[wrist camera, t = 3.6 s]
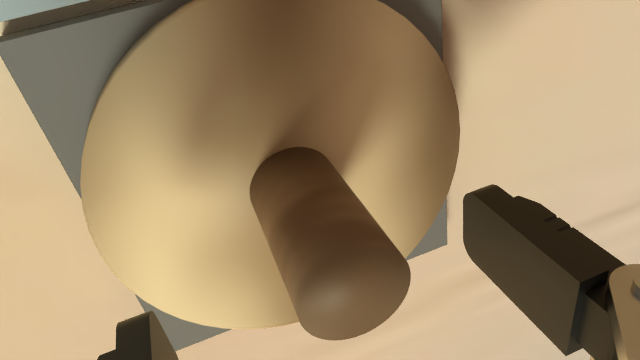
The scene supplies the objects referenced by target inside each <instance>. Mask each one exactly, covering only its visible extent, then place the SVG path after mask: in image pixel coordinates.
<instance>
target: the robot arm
mask: <svg viewBox="0 0 640 360" xmlns="http://www.w3.org/2000/svg"><path fill="white" fill-rule="evenodd" d="M463 241H464V246H465V248H466V251H467V253H468V255H469V257H470V258H471V259H472V261H473V262H474V263H475V264H476V265H477V266H478V267H479V268H480V269H481V270H482V271H483V272H484V273H485V274H486V275H487V276H488V277H489V278H490V279H491V280H492V281H493V282H494V283H495V284H496V285H497V286H498V287H499V288H500V289H501V290H502V291H503V292H504V294H505V295H506V296H507V297H508V298H509V299H510V300H511V301H512V302H513V303H514V304H515V305H516V306H517V307H518V308H519V309H520V310H521V311H522V312H523V313H524V314H525V315H526V316H527V317H528V318H529V319H530V320H531V321H532V322H533V323H534V324H535V325H536V326H537V327H538V328H539V329H540V330H541V331H542V332H543V333H544V334H545V335H546V336H547V337H548V338H549V339H550V340H551V341H552V342H553V343H554V344H555V345H556V346H557V347H558V349H559V350H560V351H561V352H562V353H563V354H564V355H565V356H567V355H569V354H571V353H573V352H575V351H578V350H580V349H582V348H584V349H585V350H586V351H587V352H588V353H589V354H590V355H591V357H590V360H640V264H629V265H626V264H624V263H622V262H621V261H620V260H618V259H617V258H615V257H614V256H613V255H611V254H610V253H608V252H607V251H606V250H604V249H603V248H601V247H600V246H599V245H597V244H596V243H594V242H593V241H592V240H590V239H589V238H587V237H586V236H585V235H583V234H582V233H580V232H579V231H578V230H576V229H575V228H571V227H570V225H569V224H568V223H566V222H565V221H564V220H562V219H561V218H557V217H556V215H555V214H554V213H552V212H551V211H550V210H548V209H547V208H545V207H544V206H543V205H541V204H540V203H537V202H534V201H532V200H529V199H526V198H523V197H521V196H516V197H514V198H513V197H512V196H511V195H509V194H508V193H507V192H505V191H504V190H503V189H501V188H500V187H499V186H497V185H493V184H492V185H489V186H486V187H483V188H481V189H478V190H475V191H473V192H470V193H467V194H466V195H465V196H464V199H463ZM97 360H178V357H177V355H176V352H175V350H174V348H173V347H172V345H171V343H170V341H169V339H168V337H167V335H166V333H165V332H164V330H163V328H162V326H161V324H160V322H159V320H158V318H157V317H156V315H155V313H154V312H153V311H149V312H146V313H143V314H141V315H138V316H135V317H133V318H130V319H127V320H125V321H122V322H119V323H118V324H117V327H116V349H115V350H113V351H110V352H107V353H105V354H102V355H100V356H99V357H98V359H97Z"/></svg>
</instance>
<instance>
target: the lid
mask: <svg viewBox="0 0 640 360" xmlns="http://www.w3.org/2000/svg"><path fill="white" fill-rule="evenodd" d="M459 138H460V124H459V110H458V105H457V101H456V96H455V91H454V88H453V85H452V83H451V80H450V77H449V75H448V72H447V69H446V68H445V66H444V64H443V62H442V60H441V59H440V57H439V55H438V53H437V52H436V50H435V49H434V48H433V46H432V45H431V44H430V42H429V41H428V40H427V39H426V37H425V36H424V35H423V34H422V33H421V32H420V31H419V30H418V29H417V28H416V27H415V26H414V25H413V24H412V23H411V22H410V21H408V20H407V19H406V18H405V17H404V16H402V15H401V14H399V13H398V12H396V11H395V10H393V9H392V8H390V7H389V6H387V5H386V4H384V3H382V2H379V1H377V0H192V1H190V2H188V3H186V4H184V5H182V6H181V7H179V8H178V9H176V10H175V11H173V12H172V13H170V14H169V15H167V16H166V17H164V18H163V19H161V20H160V21H158V22H157V23H156V24H155V25H154V26H152V27H151V28H150V29H149V30H148V31H147V32H146V33H145V34H144V35H143V36H142V37H140V38H139V39H138V40H137V41H136V42H135V43H134V44H133V45H132V46H131V48H130V49H129V50H128V51H127V53H126V54H125V55H124V56H123V57H122V59H121V60H120V61H119V62H118V64H117V65H116V66H115V68H114V69H113V71H112V73H111V74H110V76H109V78H108V80H107V81H106V83H105V85H104V86H103V88H102V90H101V92H100V94H99V97H98V99H97V102H96V104H95V107H94V109H93V112H92V114H91V117H90V121H89V125H88V130H87V134H86V139H85V143H84V149H83V154H82V163H81V180H80V187H81V196H82V205H83V211H84V215H85V218H86V222H87V225H88V229H89V232H90V234H91V237H92V239H93V241H94V243H95V245H96V247H97V249H98V251H99V253H100V255H101V256H102V258H103V259H104V261H105V262H106V264H107V265H108V266H109V268H110V269H111V271H112V272H113V273H114V274H115V275H116V276H117V277H118V278H119V279H120V280H121V282H122V283H123V284H124V285H125V286H126V287H127V288H128V289H130V290H131V291H132V292H134V293H135V294H136V295H137V296H139V297H140V298H141V299H143V300H144V301H145V302H147V303H149V304H151V305H152V306H154V307H156V308H158V309H159V310H161V311H163V312H165V313H168V314H170V315H172V316H175V317H177V318H180V319H182V320H186V321H189V322H193V323H197V324H200V325H205V326H211V327H217V328H225V329H260V328H270V327H276V326H283V325H288V324H292V323H296V322H300V323H301V325H302V327H303V328H304V329H305V330H306V331H307V332H308V333H310V334H311V335H313V336H315V337H317V338H321V339H325V340H344V339H350V338H353V337H357V336H359V335H362V334H364V333H367V332H369V331H371V330H372V329H374V328H376V327H377V326H379V325H380V324H382V323H383V322H384V321H386V320H387V319H388V318H389V317H390V316H391V315H392V314H393V313H394V312H395V311H396V310H397V309H398V307H399V306H400V305H401V303H402V302H403V300H404V298H405V296H406V294H407V292H408V289H409V285H410V268H409V265H408V263H407V261H406V258H407V256H408V255H409V254H410V253H411V252H412V251H413V249H414V248H415V247H416V246H417V245H418V244H419V242H420V241H421V240H422V238H423V237H424V235H425V234H426V232H427V231H428V230H429V228H430V227H431V225H432V224H433V222H434V220H435V218H436V216H437V215H438V213H439V211H440V209H441V207H442V205H443V203H444V200H445V198H446V196H447V193H448V191H449V189H450V185H451V182H452V179H453V176H454V172H455V168H456V163H457V157H458V152H459Z"/></svg>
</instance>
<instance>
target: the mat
mask: <svg viewBox="0 0 640 360" xmlns="http://www.w3.org/2000/svg"><path fill="white" fill-rule="evenodd" d="M190 1H192V0H145V1H141V2H137V3H133V4H129V5H125V6H121V7H117V8H113V9H109V10H105V11H101V12H97V13H93V14H89V15H85V16H81V17H77V18H72V19H68V20H64V21H60V22H56V23H52V24H48V25H44V26H40V27H36V28H32V29H28V30H24V31H20V32H16V33H12V34H8V35H4V36H1V37H0V56H1V58H2V60H3V61H4V63H5V65H6V67H7V68H8V70H9V72H10V74H11V75H12V77H13V79H14V81H15V83H16V84H17V86H18V88H19V90H20V91H21V93H22V95H23V97H24V98H25V100H26V102H27V104H28V106H29V107H30V109H31V111H32V113H33V114H34V116H35V118H36V120H37V122H38V123H39V125H40V127H41V129H42V130H43V132H44V134H45V136H46V137H47V139H48V141H49V143H50V145H51V146H52V148H53V150H54V152H55V153H56V155H57V157H58V159H59V160H60V162H61V164H62V166H63V168H64V169H65V171H66V173H67V175H68V176H69V178H70V180H71V182H72V183H73V185H74V187H75V189H76V191H77V192H78V194H79V196H80V198H81V199H82V196H81V187H80V180H81V163H82V154H83V149H84V143H85V139H86V134H87V130H88V125H89V121H90V117H91V114H92V112H93V109H94V107H95V104H96V102H97V99H98V97H99V94H100V92H101V90H102V88H103V86H104V85H105V83H106V81H107V80H108V78H109V76H110V74H111V73H112V71H113V69H114V68H115V66H116V65H117V64H118V62H119V61H120V60H121V59H122V57H123V56H124V55H125V54H126V53H127V51H128V50H129V49H130V48H131V46H132V45H133V44H134V43H135V42H136V41H137V40H138V39H139V38H140V37H142V36H143V35H144V34H145V33H146V32H147V31H148V30H149V29H150V28H151V27H152V26H154V25H155V24H156V23H157V22H158V21H160V20H161V19H163V18H164V17H166V16H167V15H169V14H170V13H172V12H173V11H175V10H176V9H178V8H179V7H181V6H182V5H184V4H186V3H188V2H190ZM377 1H379V2H382V3H384V4H386V5H387V6H389V7H390V8H392V9H393V10H395V11H396V12H398V13H399V14H401V15H402V16H404V17H405V18H406V19H407V20H408V21H410V22H411V23H412V24H413V25H414V26H415V27H416V28H417V29H418V30H419V31H420V32H421V33H422V34H423V35H424V36H425V37H426V39H427V40H428V41H429V42H430V44H431V45H432V46H433V48H434V49H435V50H436V52H437V53H438V55H439V57H440V59H441V60H442V62H443V56H442V17H441V0H377ZM444 245H447V212H446V198H445V200H444V203H443V205H442V207H441V209H440V211H439V213H438V215H437V216H436V218H435V220H434V222H433V224H432V225H431V227H430V228H429V230H428V231H427V232H426V234H425V235H424V237H423V238H422V240H421V241H420V242H419V244H418V245H417V246H416V247H415V248H414V249H413V251H412V252H411V253H410V254H409V255H408V256H407V258H406V260H409V259H411V258H414V257H416V256H419V255H421V254H424V253H427V252H429V251H432V250H434V249H437V248H439V247H442V246H444ZM135 295H136V294H135ZM136 297H137V299H138V300H139V302H140V304H141V306H142V307H143V309H144V311H145V313H146V312H149V311H153V312H154V313H155V315H156V317H157V318H158V320H159V322H160V324H161V326H162V328H163V330H164V332H165V333H166V335H167V337H168V339H169V341H170V343H171V345H172V347H173V348H174V350H175V351H177V350H180V349H182V348H185V347H188V346H190V345H193V344H195V343H198V342H200V341H203V340H205V339H208V338H210V337H213V336H216V335H218V334H221V333H223V332H226V331H228V330H231V329H225V328H217V327H211V326H205V325H200V324H197V323H193V322H189V321H186V320H182V319H180V318H177V317H175V316H172V315H170V314H168V313H165V312H163V311H161V310H159V309H158V308H156V307H154V306H152V305H151V304H149V303H147V302H145V301H144V300H143V299H141V298H140V297H139V296H137V295H136Z"/></svg>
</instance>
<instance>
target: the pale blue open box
mask: <svg viewBox="0 0 640 360" xmlns="http://www.w3.org/2000/svg"><path fill="white" fill-rule="evenodd" d="M85 1H89V0H0V22H2V21H7V20H11V19H15V18H19V17H23V16H27V15H31V14H36V13H40V12H44V11H48V10H52V9H56V8H60V7H64V6H69V5H73V4H77V3H81V2H85Z"/></svg>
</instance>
